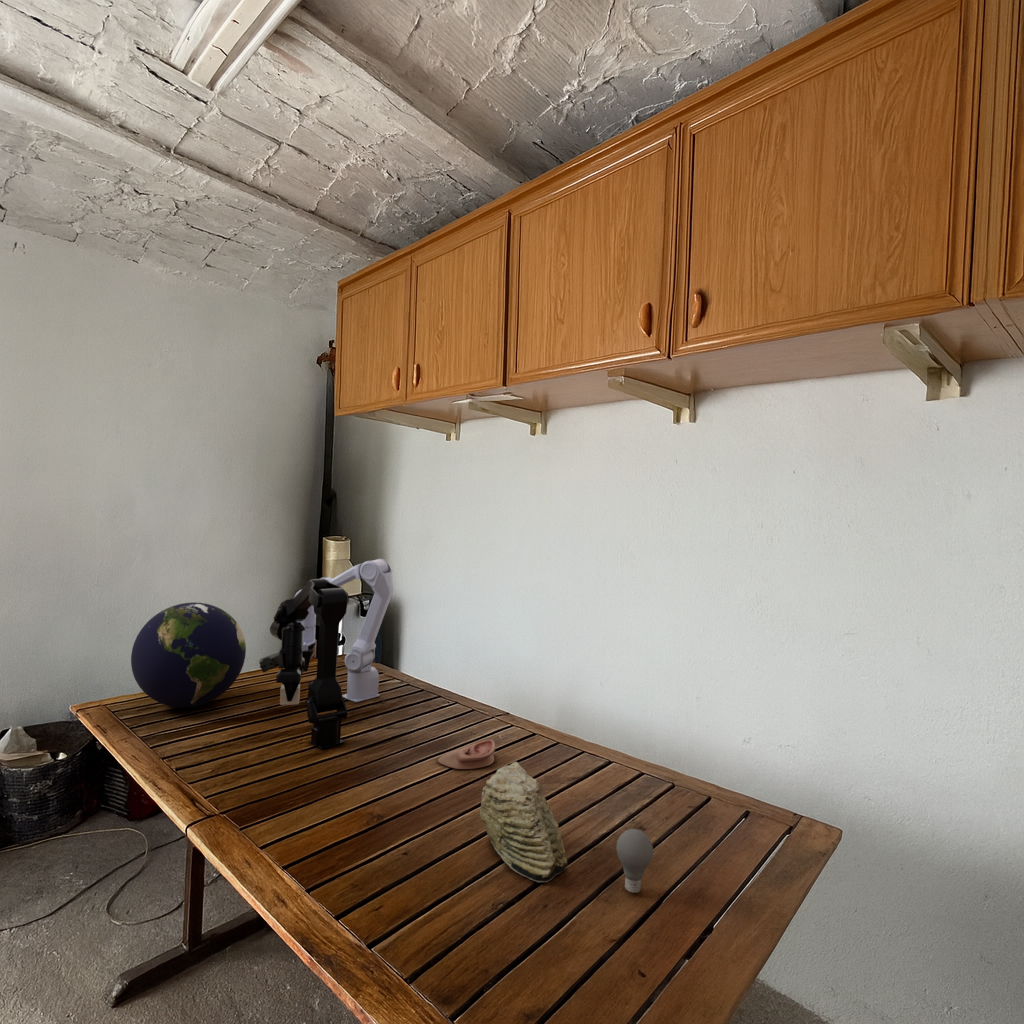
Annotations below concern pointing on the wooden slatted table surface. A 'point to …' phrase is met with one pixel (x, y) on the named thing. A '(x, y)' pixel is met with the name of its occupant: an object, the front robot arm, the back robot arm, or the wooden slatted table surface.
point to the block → (284, 699)
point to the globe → (188, 654)
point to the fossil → (522, 824)
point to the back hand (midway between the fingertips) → (304, 668)
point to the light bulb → (634, 857)
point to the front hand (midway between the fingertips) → (290, 698)
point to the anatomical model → (470, 756)
